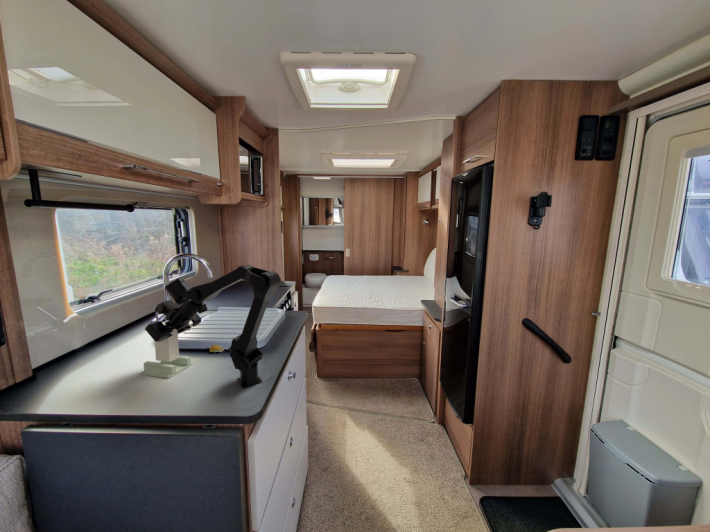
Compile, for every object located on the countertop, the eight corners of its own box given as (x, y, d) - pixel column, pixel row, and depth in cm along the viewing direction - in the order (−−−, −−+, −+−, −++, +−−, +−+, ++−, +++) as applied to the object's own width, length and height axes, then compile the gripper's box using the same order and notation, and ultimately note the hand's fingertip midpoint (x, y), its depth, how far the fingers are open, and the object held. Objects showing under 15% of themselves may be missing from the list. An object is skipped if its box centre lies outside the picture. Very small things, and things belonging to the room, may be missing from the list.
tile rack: (193, 364, 106) (193, 355, 105) (168, 378, 95) (168, 369, 95) (167, 360, 108) (167, 351, 108) (140, 374, 98) (139, 364, 97)
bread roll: (211, 355, 114) (211, 346, 113) (206, 348, 120) (205, 339, 120) (232, 350, 119) (232, 341, 119) (226, 343, 126) (225, 335, 125)
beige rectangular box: (179, 357, 102) (176, 323, 101) (169, 362, 99) (167, 326, 97) (165, 355, 104) (163, 321, 102) (156, 360, 100) (153, 325, 98)
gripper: (193, 289, 106) (171, 314, 110) (147, 300, 88) (122, 330, 92) (212, 310, 106) (189, 335, 109) (169, 326, 88) (143, 355, 91)
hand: (163, 338), depth 101 cm, fingers closed on beige rectangular box, 4 cm apart
